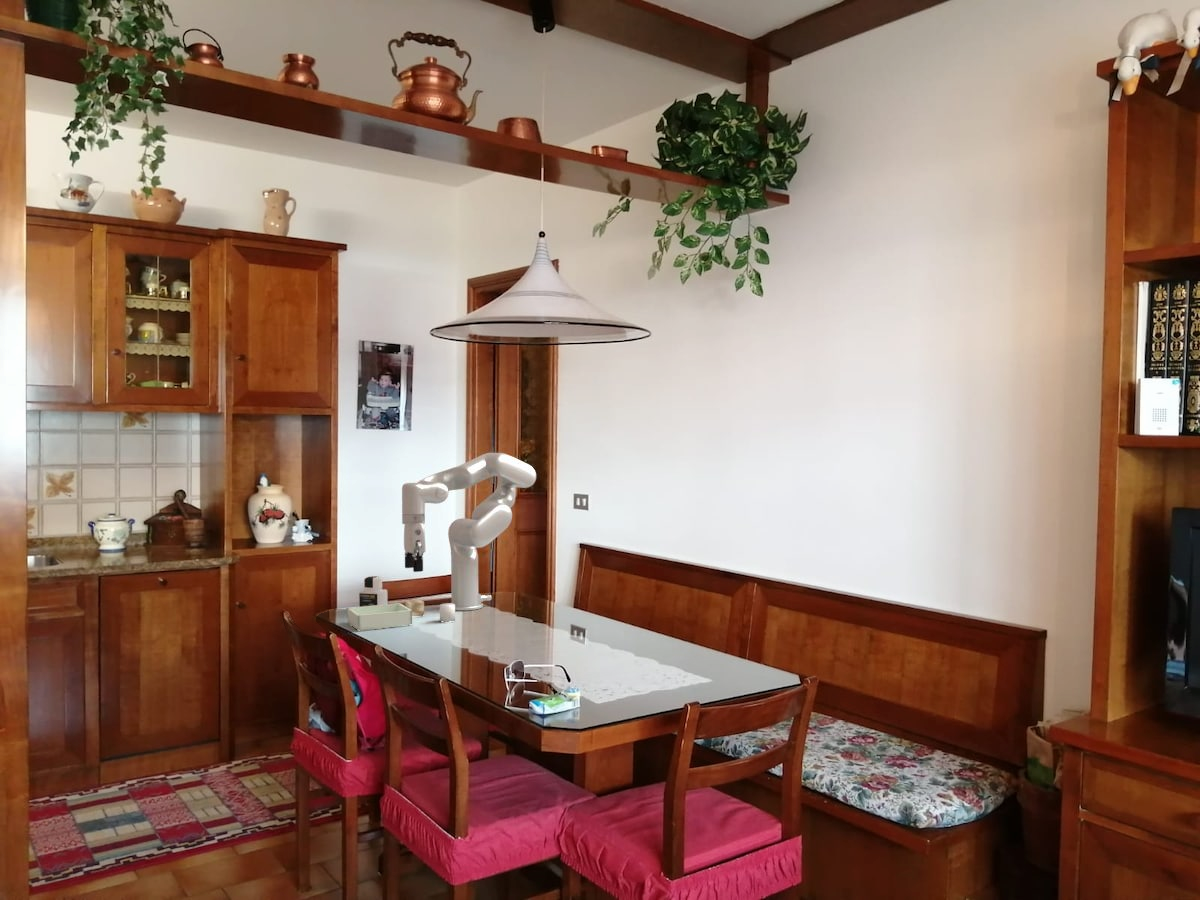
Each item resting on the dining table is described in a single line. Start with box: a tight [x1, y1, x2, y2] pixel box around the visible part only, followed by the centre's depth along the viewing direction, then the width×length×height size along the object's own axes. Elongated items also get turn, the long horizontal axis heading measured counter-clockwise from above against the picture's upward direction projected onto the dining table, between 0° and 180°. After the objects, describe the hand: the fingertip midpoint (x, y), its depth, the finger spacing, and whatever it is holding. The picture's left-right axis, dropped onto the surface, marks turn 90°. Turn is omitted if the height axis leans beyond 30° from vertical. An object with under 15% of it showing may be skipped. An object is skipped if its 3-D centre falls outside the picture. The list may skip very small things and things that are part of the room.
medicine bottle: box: [358, 575, 389, 607], centre depth 321 cm, size 7×7×12 cm
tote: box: [346, 602, 413, 632], centre depth 299 cm, size 17×14×5 cm
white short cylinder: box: [439, 602, 456, 622], centre depth 304 cm, size 5×5×6 cm
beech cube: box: [404, 599, 425, 616], centre depth 312 cm, size 5×5×5 cm
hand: (413, 569), depth 312 cm, fingers open, 9 cm apart
